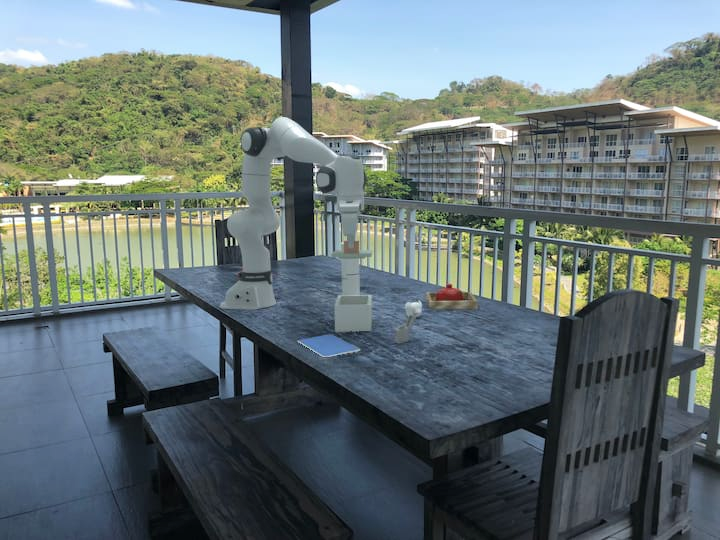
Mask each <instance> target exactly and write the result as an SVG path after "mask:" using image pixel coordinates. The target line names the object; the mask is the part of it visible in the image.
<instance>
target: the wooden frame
mask: <svg viewBox="0 0 720 540" xmlns="http://www.w3.org/2000/svg"><path fill="white" fill-rule="evenodd" d="M437 292H438V291H437ZM437 292H436V291H435V292H434V291H429V292H428V291H427V292H425V301H426V304H427V303H428V304H427V306H429V307H428V310H478V308H479V306H478V305H479V301H478V300H477V298H476V297H475V295H474V294H473V292H472V291H462V294H463V299H468V300H467V301H435V300H436V294H437Z"/></svg>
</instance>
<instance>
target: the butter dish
mask: <svg viewBox="0 0 720 540" xmlns="http://www.w3.org/2000/svg"><path fill="white" fill-rule="evenodd" d="M445 286H446V287H443V288H441V289H439V290H438V291H437V294H436V300H434V301H468V300H464V299H463V294H462V292H463V291H462V290H461V289H460V288H455V287H453V283H447V284H445Z"/></svg>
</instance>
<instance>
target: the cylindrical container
mask: <svg viewBox="0 0 720 540" xmlns="http://www.w3.org/2000/svg"><path fill="white" fill-rule="evenodd" d="M340 250H344V241H342V242H340ZM340 261H341V262H340V264H341V293H342V294H341V295H361V293H360V292H361V290H360V289H361V287H360V283H361V282H360V279H361V278H360V259H341V260H340Z"/></svg>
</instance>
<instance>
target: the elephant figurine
mask: <svg viewBox="0 0 720 540" xmlns="http://www.w3.org/2000/svg"><path fill="white" fill-rule="evenodd" d="M404 308H405V313H406V316H407V317H408V318H409V315H413V316H415V317H416V318H417V317H419V316H421V314H423V312H422V309H423V303H422V302H421V301H420V300H418V301H415V302H410V301H409V302H408V301H407V302H406V303H405V305H404Z"/></svg>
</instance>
